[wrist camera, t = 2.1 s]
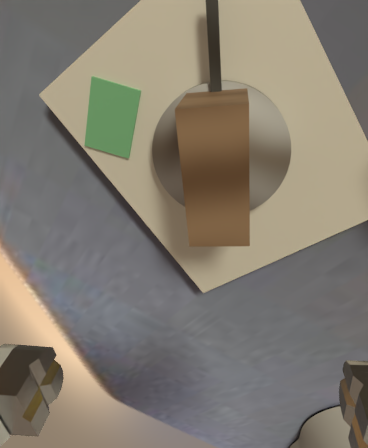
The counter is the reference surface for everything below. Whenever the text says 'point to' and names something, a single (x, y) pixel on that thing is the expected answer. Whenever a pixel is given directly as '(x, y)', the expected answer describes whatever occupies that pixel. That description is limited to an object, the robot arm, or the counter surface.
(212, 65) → the brown knob on disc
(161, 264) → the counter surface
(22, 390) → the robot arm
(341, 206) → the board
